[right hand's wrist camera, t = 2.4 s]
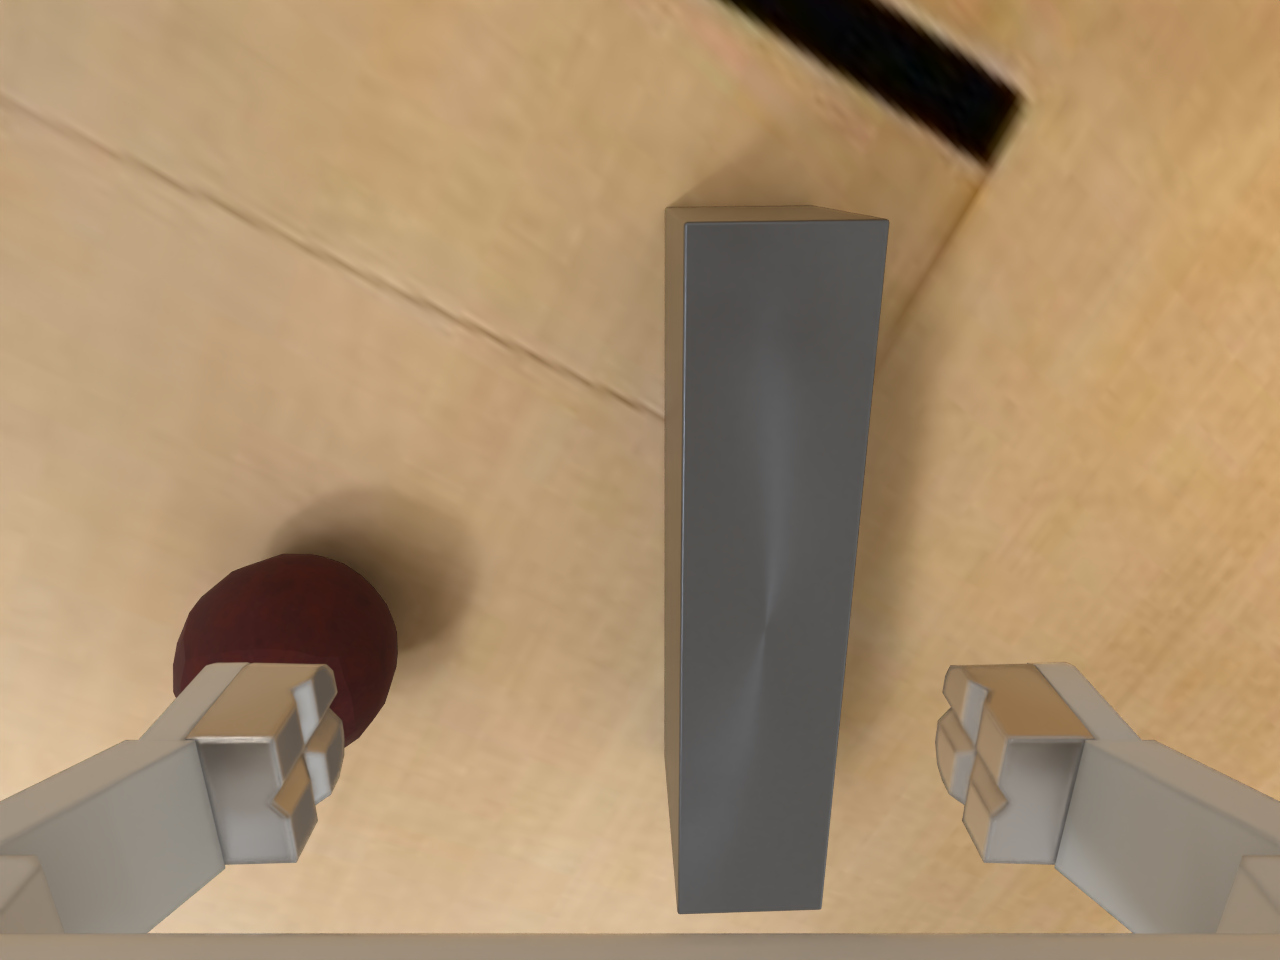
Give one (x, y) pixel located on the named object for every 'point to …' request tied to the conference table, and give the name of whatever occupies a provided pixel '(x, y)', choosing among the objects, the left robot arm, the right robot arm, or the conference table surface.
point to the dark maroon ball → (297, 630)
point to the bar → (761, 536)
